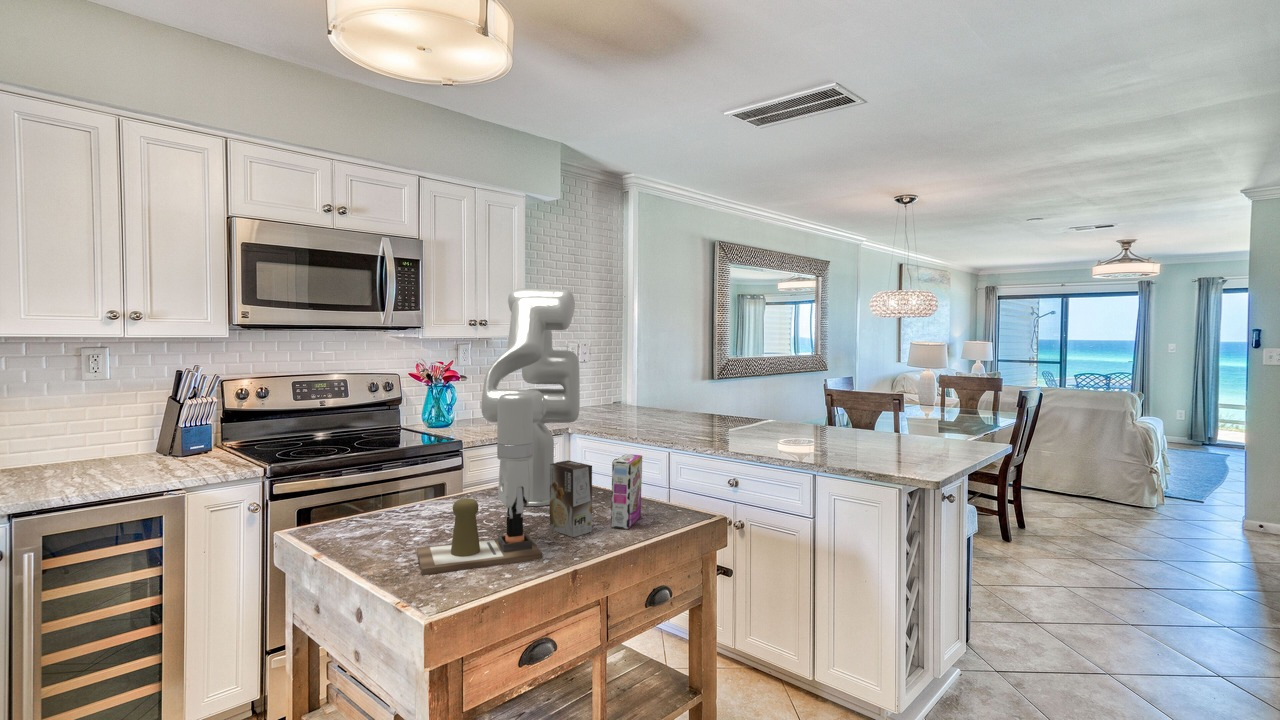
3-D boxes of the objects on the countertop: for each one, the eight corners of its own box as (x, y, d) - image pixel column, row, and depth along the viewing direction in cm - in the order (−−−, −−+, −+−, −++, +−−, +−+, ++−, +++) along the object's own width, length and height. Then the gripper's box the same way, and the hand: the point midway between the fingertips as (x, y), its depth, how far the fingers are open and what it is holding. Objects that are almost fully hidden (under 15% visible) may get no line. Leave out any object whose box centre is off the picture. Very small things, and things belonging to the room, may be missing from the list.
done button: (503, 542, 137) (503, 533, 137) (521, 540, 138) (521, 531, 138) (507, 548, 133) (507, 538, 133) (526, 545, 135) (526, 536, 135)
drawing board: (417, 553, 134) (417, 540, 134) (528, 539, 144) (528, 527, 144) (422, 575, 122) (422, 560, 122) (542, 558, 132) (542, 545, 132)
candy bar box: (629, 530, 152) (630, 462, 151) (610, 528, 153) (610, 461, 152) (642, 517, 162) (643, 454, 162) (623, 515, 164) (624, 453, 163)
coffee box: (593, 532, 150) (594, 465, 149) (573, 538, 145) (573, 469, 145) (568, 523, 156) (568, 459, 156) (547, 529, 152) (548, 463, 151)
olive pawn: (472, 557, 128) (472, 504, 128) (445, 555, 129) (445, 502, 129) (485, 547, 134) (485, 496, 134) (459, 545, 135) (459, 495, 135)
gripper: (491, 446, 140) (490, 527, 141) (504, 458, 127) (504, 548, 127) (524, 444, 143) (523, 523, 144) (541, 456, 130) (540, 544, 130)
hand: (514, 535), depth 136 cm, fingers closed
